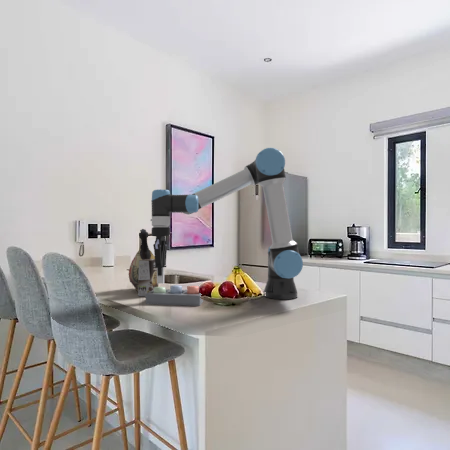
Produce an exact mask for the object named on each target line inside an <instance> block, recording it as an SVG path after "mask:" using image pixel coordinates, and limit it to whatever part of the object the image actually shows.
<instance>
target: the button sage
mask: <svg viewBox="0 0 450 450" xmlns="http://www.w3.org/2000/svg"><path fill="white" fill-rule="evenodd" d="M166 289H167V287H165V286H158V287H154V293H166Z"/></svg>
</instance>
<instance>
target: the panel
mask: <svg viewBox="0 0 450 450" xmlns="http://www.w3.org/2000/svg"><path fill="white" fill-rule="evenodd" d="M201 295H202V294H201V293H199V294H187V289H182V294H176V293H170V289H167V288H166V293H154V290H152V291H150V292H148V293H147V294H146V296H145V305H167V306H194V307H195V306H197V307H200V306H201V305H202V304H203V302H204V301H203V300H202V299H201V298H200V297H201Z"/></svg>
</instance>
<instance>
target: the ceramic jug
mask: <svg viewBox="0 0 450 450" xmlns="http://www.w3.org/2000/svg"><path fill="white" fill-rule="evenodd" d="M138 236H139V239H140V247H139V248H138V251H137V252H136V254H135V255H134V256H133V259H132V260H131V263H130V265H129V269H128V278H129V279H128V280H129V282H130V283H131V285H132V286H133V287H134V288H135V291H136V292H138V277H139V260H144V259H155V254H154V253H153V252H152V251H151V249H150V248H149V244H148V237H149V232H147V230H146V228H145V229H144V228H142V229H140V232H138Z"/></svg>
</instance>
